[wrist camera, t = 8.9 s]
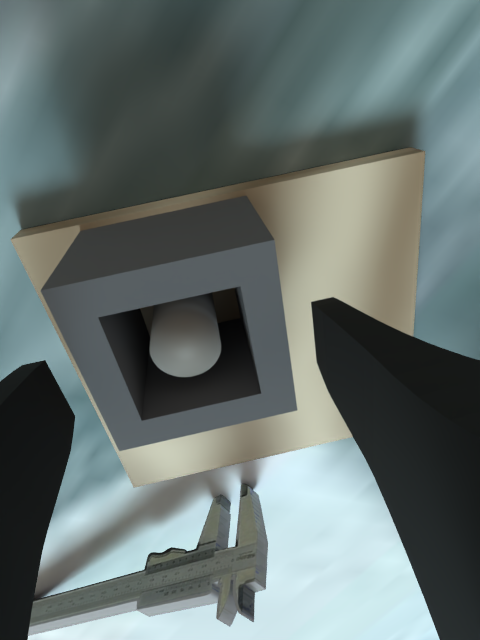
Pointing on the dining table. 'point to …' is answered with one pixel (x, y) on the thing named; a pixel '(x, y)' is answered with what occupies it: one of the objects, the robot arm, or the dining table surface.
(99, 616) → the caliper
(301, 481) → the dining table surface
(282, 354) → the collar
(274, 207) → the post board
